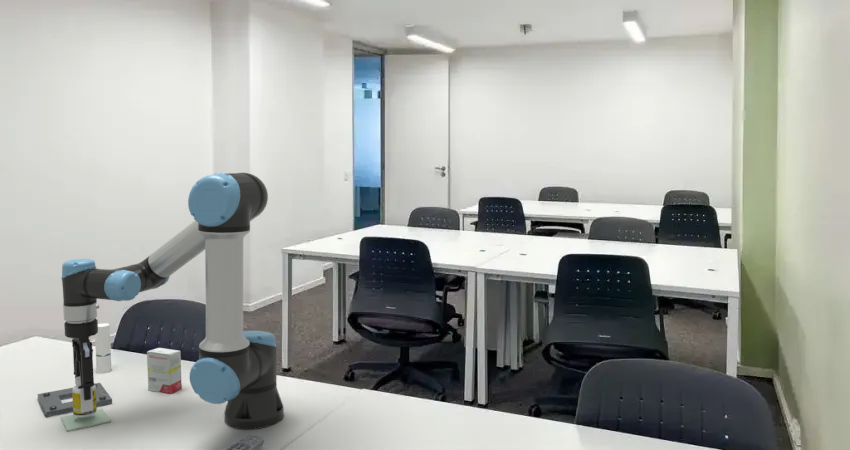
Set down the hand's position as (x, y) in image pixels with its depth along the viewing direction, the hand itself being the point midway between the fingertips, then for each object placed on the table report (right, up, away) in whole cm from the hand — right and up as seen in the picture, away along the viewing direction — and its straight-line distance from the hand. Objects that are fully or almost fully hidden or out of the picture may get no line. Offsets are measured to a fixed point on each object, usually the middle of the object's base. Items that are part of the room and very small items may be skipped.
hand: (84, 407), depth 166 cm
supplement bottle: (0, -2, 0) cm, 2 cm away
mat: (0, -4, 0) cm, 4 cm away
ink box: (+11, -2, +23) cm, 26 cm away
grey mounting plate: (-10, -2, +13) cm, 16 cm away
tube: (-14, 0, +38) cm, 41 cm away
